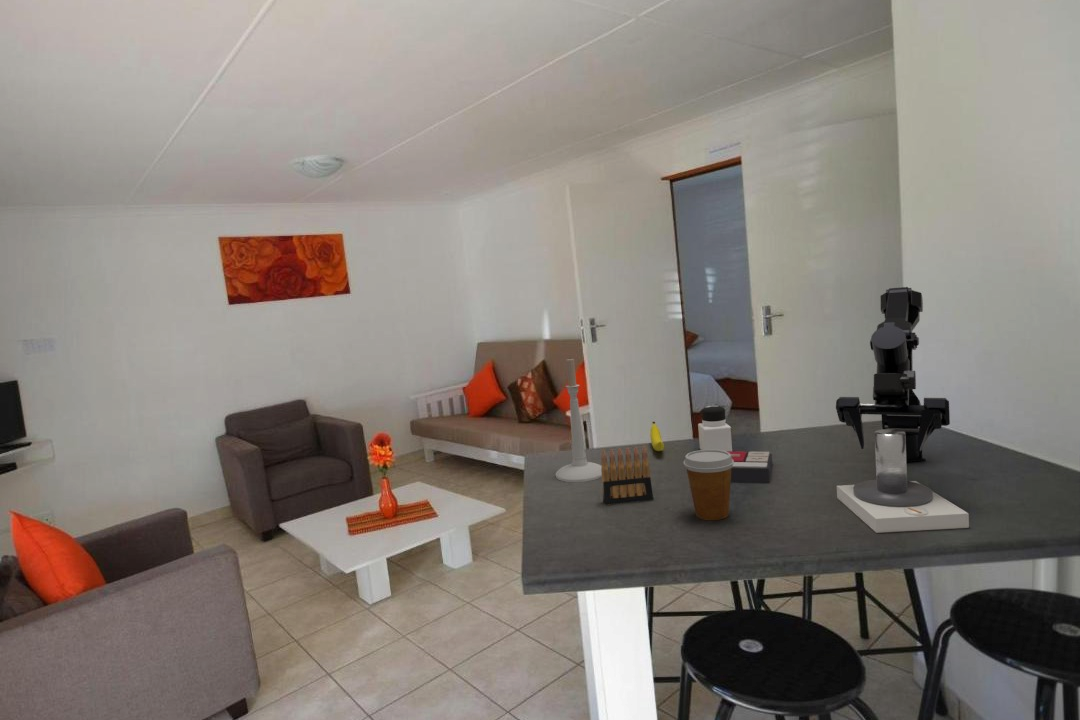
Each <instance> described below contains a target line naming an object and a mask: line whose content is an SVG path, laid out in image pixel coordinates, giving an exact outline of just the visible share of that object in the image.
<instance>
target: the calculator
mask: <svg viewBox="0 0 1080 720" xmlns="http://www.w3.org/2000/svg"><path fill="white" fill-rule="evenodd" d="M727 452H728V453H730V454H731V457H732V459H733V460H734V463H733V466H732V469H731V483H744V484H745V483H748V484H750V483H751V484H770V482H771V474H772V471H773V470H772V469H773V454H772V453H770V451H748V453H747V451H742V450H741V451H739V450H738V451H727Z"/></svg>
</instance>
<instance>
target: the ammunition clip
mask: <svg viewBox="0 0 1080 720" xmlns="http://www.w3.org/2000/svg"><path fill="white" fill-rule="evenodd" d="M641 449H642V450H641V459H640V453H639V450H638V447H637V446H636V445H635V446H634V447H633V461H632V455H631V451H630V448H629V447H628V446H627V447H626V449H625V462H624V457H623V456H624V455H623V451H622V449H621V448H620V447H619V448H618V449H617V463H616V458H615V457H616V456H615V453H614V450H613V448H610V449H609V458H607V454H606V451H605V449H604V448H603V449H602V451H601V456H600V457H601V466H602V468H601V471H602V477H601V480H602V501H603V502H602V503H603V504H604V505H605V506H608V505H614V504H615V505H617V504H625V503H626V504H627V503H637V502H644V501H645V502H646V501H653V500H654V494H653V487H652V480H651V469H650V463H649V462H650V461H649V458H648V450H647V447H646V445H644V444H643V446H642V448H641ZM608 459H609V465H608ZM640 460H641V461H640ZM632 462H633V463H632Z"/></svg>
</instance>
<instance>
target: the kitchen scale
mask: <svg viewBox="0 0 1080 720" xmlns="http://www.w3.org/2000/svg"><path fill="white" fill-rule="evenodd" d="M907 489H908V491H907V492H906V493H903V494H887V493H883V492H880V491H878V490H877V478H874V479H867V480H864V481H862V480H861V481H860V482H858V483H855V484H846V485H845V484H843V485H836V498H837V499H838V500H839V501H840V502H841V503H843V505H845V506H846V507H847V508H848V510H850V511H852V513H854V514H855V516H857V517H858V518H859V519H860V520H862V521H863V523H864V524H866V525H867V526H868V527H870V528H871V530H872V531H874V532H875V533H876V534H877V533H878V534H879V533H895V532H896V533H897V532H914V531H918V532H919V531H932V530H950V529H968V528H970V522H969V521H970V519H969V518H970V516H969V513H968V512H967V511H965V510H964V509H962V508H960V507H959V506H957V505H956V504H954V503H952V502H950V501H949V500H947V499H946V498H945V497H943V496H940V494H937V493H936V492H934V491H933V490H932V489H931V488H930V487H928V486H927V485H924V484H921V483H920V482H918V481H917V480H907Z"/></svg>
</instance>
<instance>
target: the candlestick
mask: <svg viewBox="0 0 1080 720" xmlns="http://www.w3.org/2000/svg"><path fill="white" fill-rule="evenodd" d="M565 362H566V372H567V373H566V374H567V375H566V376H567V383H568V385H565V388H566V389H567V393H568V394H569V397H570V399H569V404H570V405H569V407H570V428H571V429H570V431H571V451H572V452H571V453H572V454H571V455H572V461H571V463H569V464H566V465H563V466H562V467H560V468H559V469H558V470H557V471H556V472H555V478H556V479H557V480H559V481H561V482H566V483H585V482H591V481H594V480H597V479H602V471H601V468H602V464H598V463H595V462H591V461H588V459H587V454H586V448H585V447H586V445H585V441H584V434H583V433H584V432H583V429H582V428H583V427H582V426H583V425H582V420H581V413H580V407H579V399H578V397H577V396H578V393H579V389H578V388H579V387H580V384H577V377H576V376H577V375H576V367H575V366H576V365H575V358H568V359H565Z"/></svg>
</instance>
